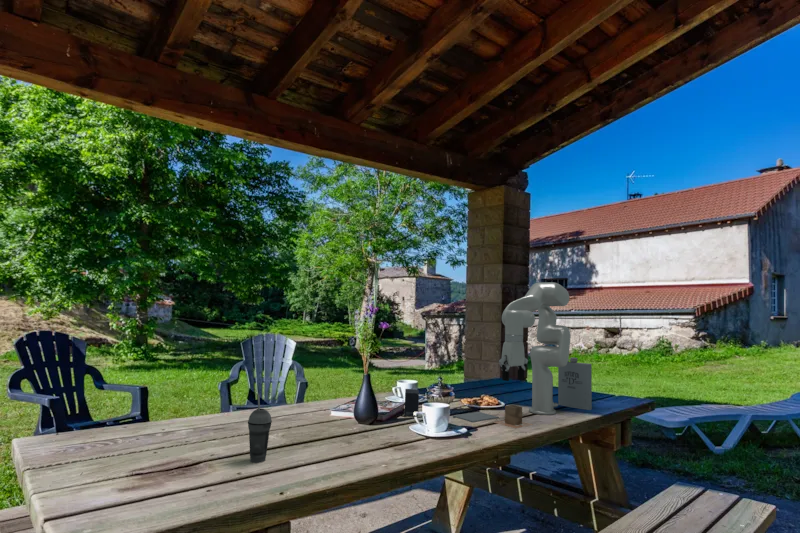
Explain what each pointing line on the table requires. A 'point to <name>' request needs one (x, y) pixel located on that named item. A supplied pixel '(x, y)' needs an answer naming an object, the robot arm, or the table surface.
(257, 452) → the beverage cup
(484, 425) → the table surface
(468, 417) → the slate board
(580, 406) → the flask
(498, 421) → the tile
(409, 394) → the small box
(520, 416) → the walnut block
